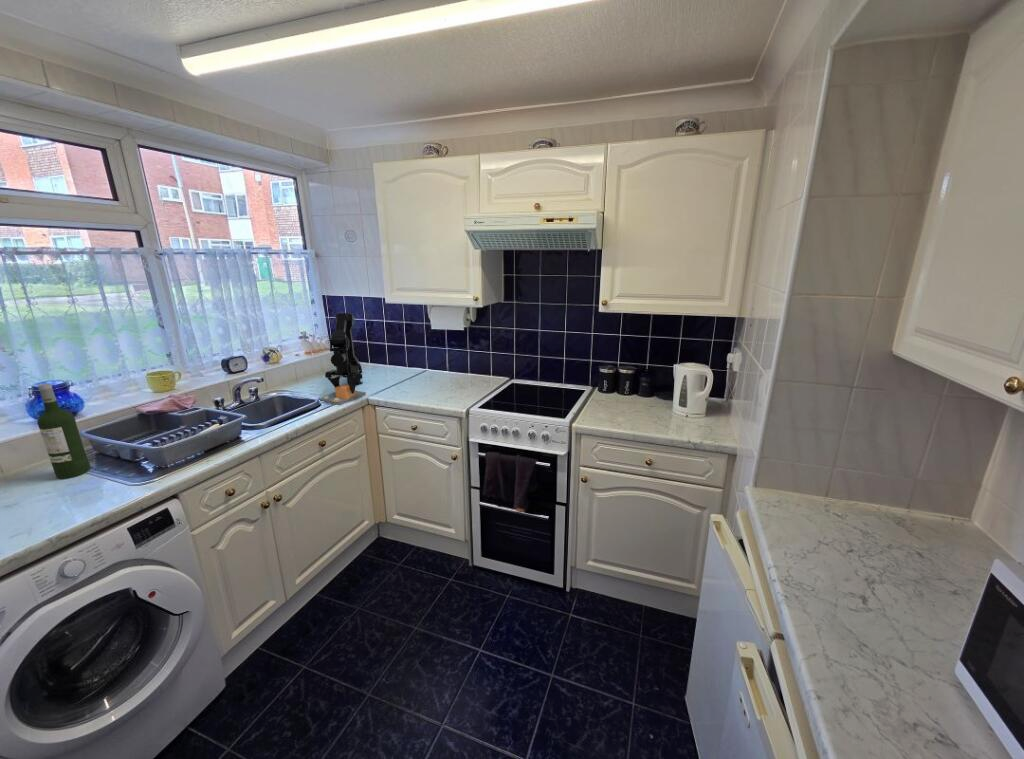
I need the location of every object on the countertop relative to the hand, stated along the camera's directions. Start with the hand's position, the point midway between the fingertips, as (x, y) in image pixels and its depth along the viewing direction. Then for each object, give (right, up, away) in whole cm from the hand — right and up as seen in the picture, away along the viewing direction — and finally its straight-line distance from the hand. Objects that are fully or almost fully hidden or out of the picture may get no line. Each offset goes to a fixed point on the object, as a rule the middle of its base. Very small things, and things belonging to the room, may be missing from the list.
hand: (345, 392), depth 203 cm
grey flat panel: (-3, -3, +3) cm, 5 cm away
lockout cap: (0, -2, +1) cm, 2 cm away
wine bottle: (-61, -24, -69) cm, 95 cm away
